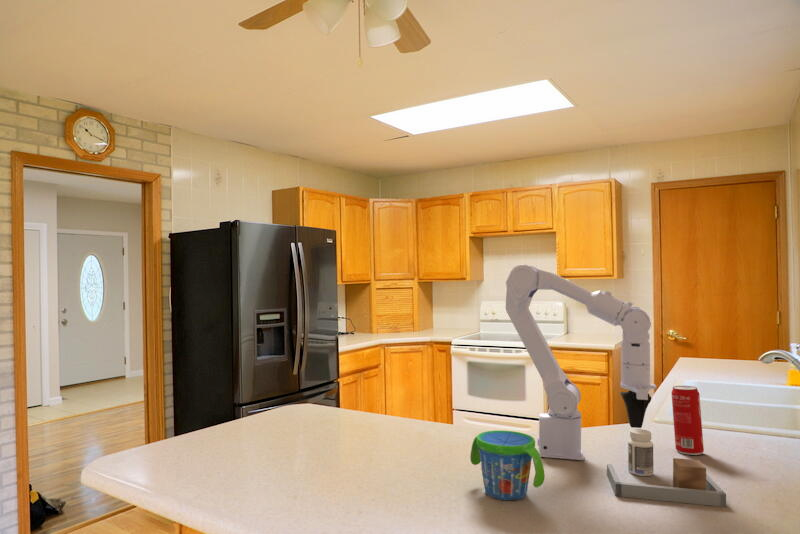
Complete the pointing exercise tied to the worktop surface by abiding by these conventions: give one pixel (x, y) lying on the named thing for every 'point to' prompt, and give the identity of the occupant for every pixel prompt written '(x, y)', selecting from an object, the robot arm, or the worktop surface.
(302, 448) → the worktop surface
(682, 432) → the beverage can
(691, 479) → the walnut block
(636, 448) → the pill bottle
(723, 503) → the corral
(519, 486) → the snack cup
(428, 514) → the worktop surface
